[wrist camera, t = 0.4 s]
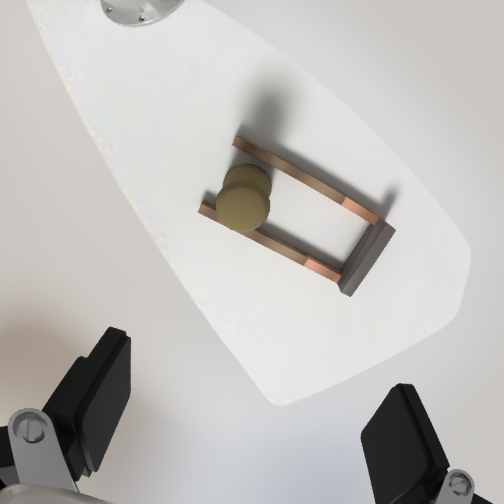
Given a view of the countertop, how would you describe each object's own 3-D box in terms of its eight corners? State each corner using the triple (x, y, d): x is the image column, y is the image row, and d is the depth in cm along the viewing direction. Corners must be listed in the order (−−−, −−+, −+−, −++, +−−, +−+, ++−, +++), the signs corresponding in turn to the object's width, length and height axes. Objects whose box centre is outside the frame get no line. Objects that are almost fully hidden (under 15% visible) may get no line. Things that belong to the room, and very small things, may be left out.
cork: (247, 153, 38) (243, 162, 27) (281, 189, 39) (289, 211, 29) (212, 186, 39) (195, 208, 29) (246, 220, 41) (241, 253, 31)
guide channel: (199, 209, 40) (193, 217, 37) (237, 135, 37) (234, 136, 33) (343, 283, 44) (350, 297, 40) (384, 220, 40) (396, 230, 37)
